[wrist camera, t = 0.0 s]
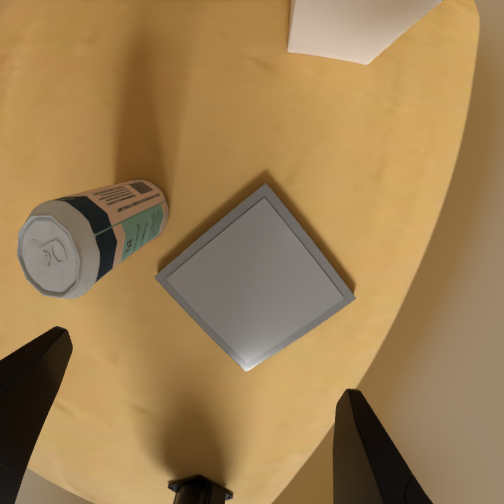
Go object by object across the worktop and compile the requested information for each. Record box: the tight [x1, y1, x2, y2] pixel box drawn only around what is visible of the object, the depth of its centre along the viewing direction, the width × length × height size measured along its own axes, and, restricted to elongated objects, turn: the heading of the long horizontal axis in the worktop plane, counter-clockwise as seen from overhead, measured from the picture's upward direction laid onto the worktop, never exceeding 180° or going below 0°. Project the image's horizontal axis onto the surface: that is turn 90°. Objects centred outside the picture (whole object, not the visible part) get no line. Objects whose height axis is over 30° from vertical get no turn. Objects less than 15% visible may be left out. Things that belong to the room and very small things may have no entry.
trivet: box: [155, 183, 356, 371], centre depth 24 cm, size 11×11×1 cm
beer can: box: [17, 180, 168, 299], centre depth 18 cm, size 5×5×12 cm
